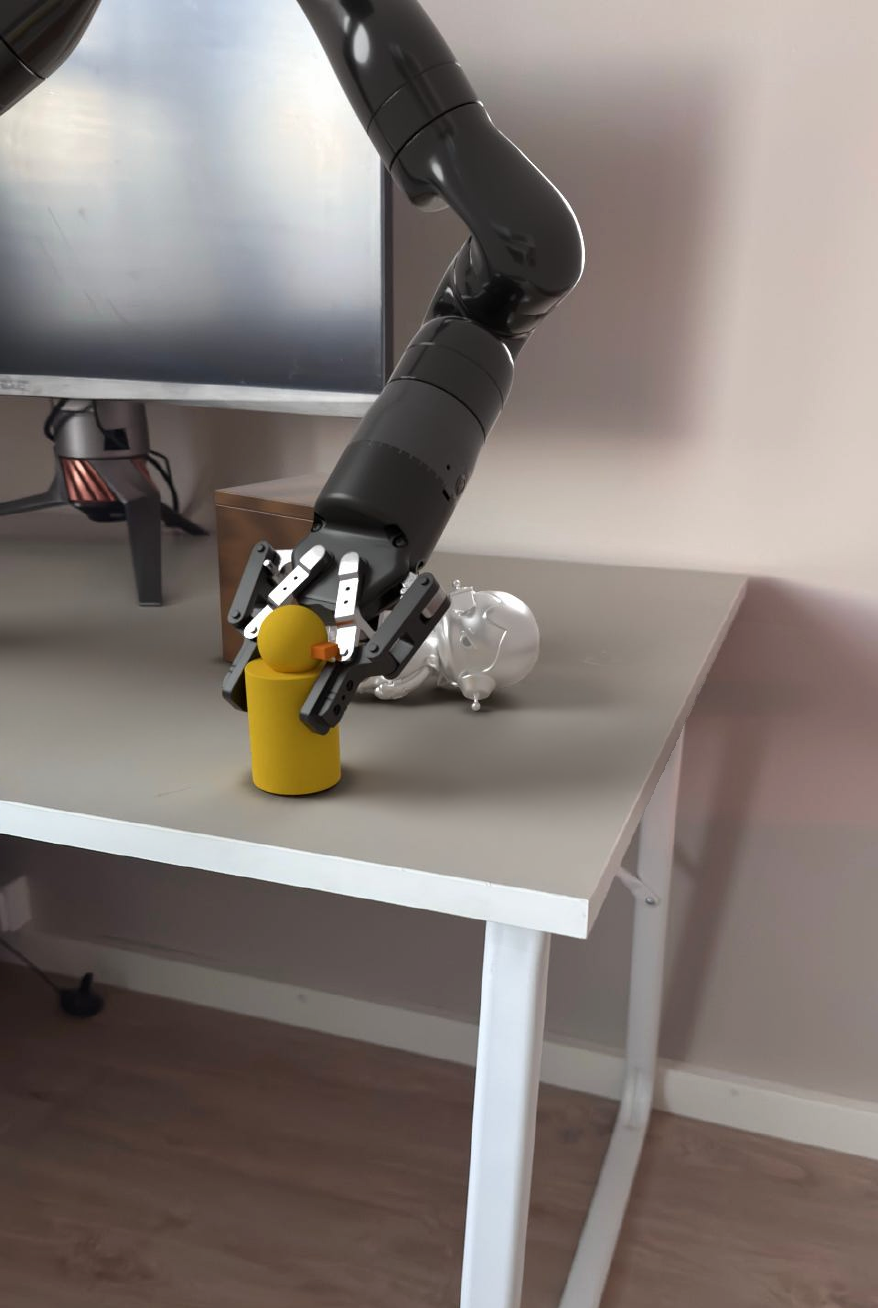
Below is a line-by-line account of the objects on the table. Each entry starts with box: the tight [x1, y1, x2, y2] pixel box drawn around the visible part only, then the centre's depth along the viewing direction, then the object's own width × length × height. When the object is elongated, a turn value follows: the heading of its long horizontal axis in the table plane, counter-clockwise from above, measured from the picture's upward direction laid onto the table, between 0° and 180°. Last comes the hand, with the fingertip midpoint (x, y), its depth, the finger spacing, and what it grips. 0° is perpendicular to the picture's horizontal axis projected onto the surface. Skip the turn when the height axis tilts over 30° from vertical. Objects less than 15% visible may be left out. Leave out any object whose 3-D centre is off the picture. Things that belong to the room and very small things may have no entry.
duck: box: [245, 605, 342, 796], centre depth 68 cm, size 6×5×10 cm
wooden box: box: [214, 471, 420, 663], centre depth 90 cm, size 10×12×13 cm
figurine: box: [325, 579, 541, 712], centre depth 84 cm, size 11×7×15 cm
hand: (272, 715), depth 67 cm, fingers closed on duck, 5 cm apart
